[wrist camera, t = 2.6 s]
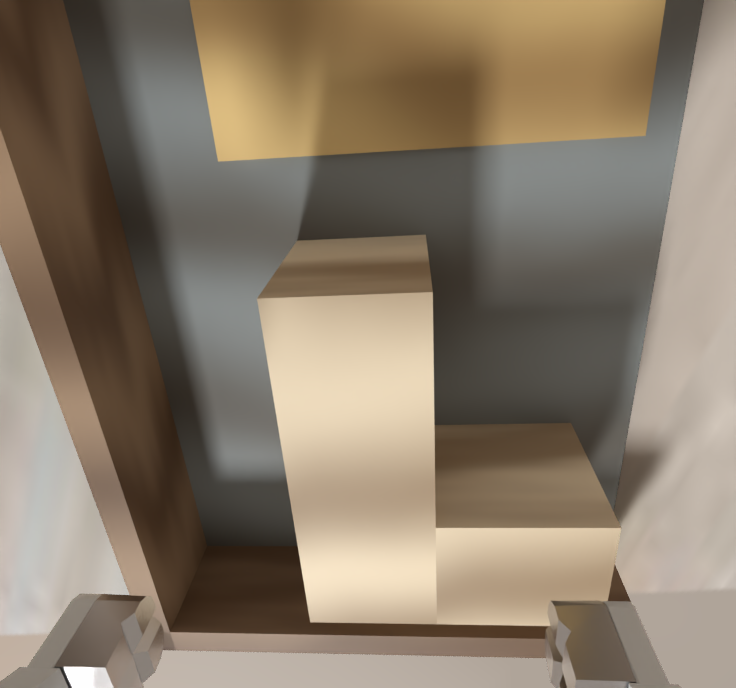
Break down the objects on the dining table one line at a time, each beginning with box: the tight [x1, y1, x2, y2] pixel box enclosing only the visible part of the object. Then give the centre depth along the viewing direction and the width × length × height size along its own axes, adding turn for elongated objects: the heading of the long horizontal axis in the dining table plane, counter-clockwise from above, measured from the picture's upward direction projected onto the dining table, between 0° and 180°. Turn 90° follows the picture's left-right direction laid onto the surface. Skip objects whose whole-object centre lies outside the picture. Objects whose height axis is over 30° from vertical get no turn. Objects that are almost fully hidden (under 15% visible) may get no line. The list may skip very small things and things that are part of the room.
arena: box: [0, 0, 704, 658], centre depth 15 cm, size 27×18×5 cm, turn 4°
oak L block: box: [257, 235, 621, 626], centre depth 17 cm, size 11×9×5 cm
